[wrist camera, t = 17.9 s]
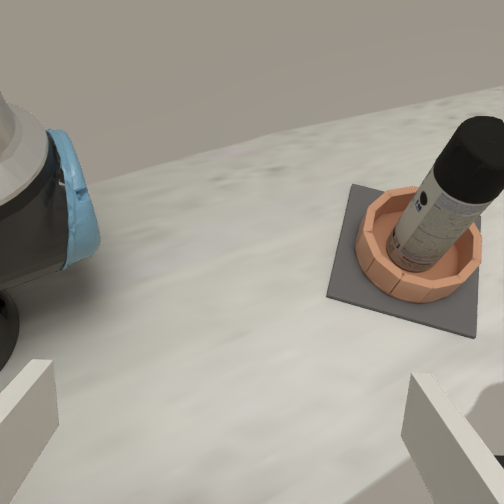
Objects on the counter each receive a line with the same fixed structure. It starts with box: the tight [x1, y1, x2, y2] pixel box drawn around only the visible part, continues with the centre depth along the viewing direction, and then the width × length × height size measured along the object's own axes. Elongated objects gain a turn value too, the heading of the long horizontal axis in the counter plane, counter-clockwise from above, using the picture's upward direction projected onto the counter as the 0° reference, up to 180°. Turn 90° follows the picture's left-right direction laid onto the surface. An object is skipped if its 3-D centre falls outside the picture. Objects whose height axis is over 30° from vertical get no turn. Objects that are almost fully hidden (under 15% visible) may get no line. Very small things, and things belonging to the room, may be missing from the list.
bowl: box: [355, 186, 482, 303], centre depth 55 cm, size 14×14×5 cm
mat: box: [326, 184, 481, 339], centre depth 57 cm, size 18×18×1 cm
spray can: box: [386, 116, 504, 272], centre depth 47 cm, size 7×7×20 cm
